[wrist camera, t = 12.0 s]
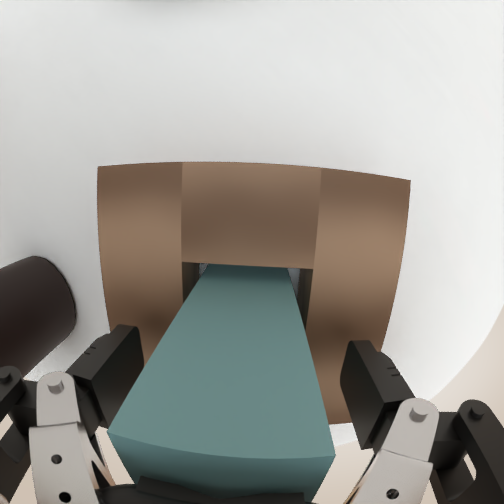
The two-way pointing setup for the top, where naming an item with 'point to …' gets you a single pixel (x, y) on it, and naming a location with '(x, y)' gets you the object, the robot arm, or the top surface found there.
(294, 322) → the peg
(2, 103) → the top surface
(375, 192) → the socket block
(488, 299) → the top surface
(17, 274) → the bottle
